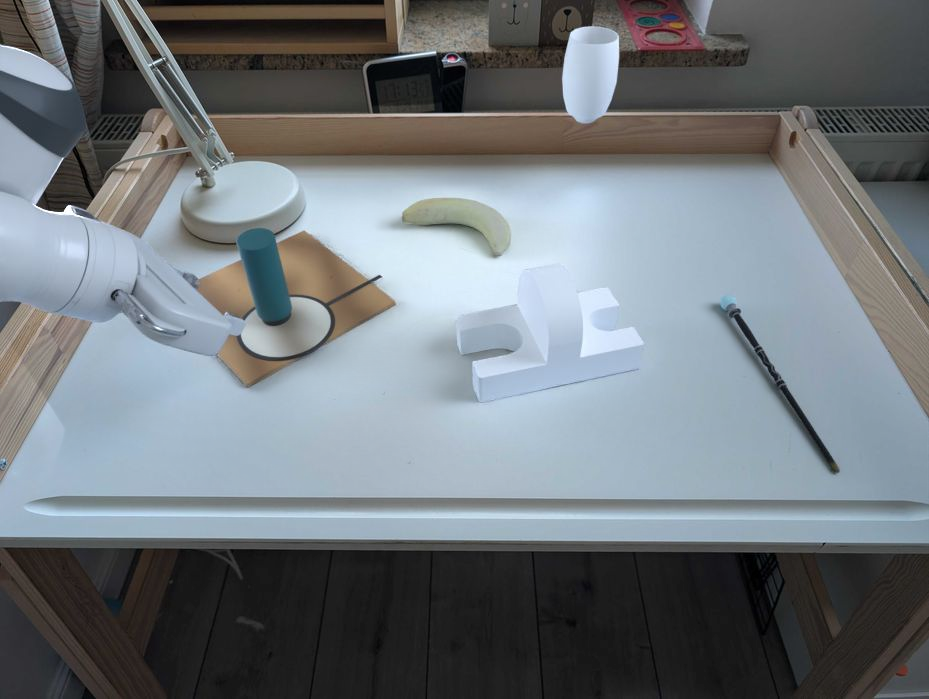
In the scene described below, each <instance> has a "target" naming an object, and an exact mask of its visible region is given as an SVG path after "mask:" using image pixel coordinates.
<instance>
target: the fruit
mask: <svg viewBox="0 0 929 699" xmlns="http://www.w3.org/2000/svg"><path fill="white" fill-rule="evenodd" d="M401 219H402V223H405V224H410V225H415V226H428V225H440V224H456V225H463V226H467V227H471V228H473V229H476V230H477V231H479V232H480V233H482V235H484V236H485V238H486V239H487V242H488V243H489V245H490V247H491V250H492V254H493V256H495V257H501V256H502V255H503V253H505V251H506V250H507V249H508V248H509V247H510V244H511V240H512V229H511V226H510V224H509V222H508V221H507V219H506V218H505V217H504V216H503V215H502V214H501V213H500V212H499V211H498V210H496V209H495V208H493V207H492V206H490V205H488V204H486V203H483V202H480V201H478V200H473V199H468V198H461V197H432V198H426V199H421V200H419V201H416V202H414V203H413V204H411V205H409V206H408V207H407V208H405V210H403V211H402V213H401Z"/></svg>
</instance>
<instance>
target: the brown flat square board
mask: <svg viewBox="0 0 929 699" xmlns="http://www.w3.org/2000/svg"><path fill="white" fill-rule="evenodd" d="M276 243H277V247H278V251H279V255H280V259H281V263H282V267H283V272H284V276H285V280H286V284H287V288H288V292H289V296H290V300H291V304H292V310H291V317H290V319H289V320H288V321H287V322H286V323H284V324H282V325H278V326H269V325H266V324H265V323H263V321H262V319H261V318H259V316H258V315H257V311H256V308H255V305H254V301H253V298H252V294H251V291H250V287H249V284H248V281H247V277H246V274H245V270H244V267H243V264H242V260H241V259H239V260H237V261H235V262H233V263H231V264H229V265H226V266H224V267H222V268H219V269H218V270H216V271H214V272H212V273H209V274H207V275H205V276H203V277H200V278H198V279H199V280H200V282H201V283H200V286H198V289H197V291H198V292H199V293H200V294H201V295H202V296H203V297H204V298H205V299H206V300H207V301H208V302H209V303H210V304H212V305H213V306H214V307H215V308H216V309H217V310H218V311H219V312H220V313H221V314H222V315H225V314H226V312H229V313H232V314H237V315H238V316H239V317H241V318H242V319H243V320H244V321H245V322H246V326H245V327H244V329H243V331H242V333H241V334H240V335H239V336H234V335H229V336H228V338H227V340H226V342H225V344H224V345H223V347H222V349H221V351H220V352H219V353H218V354H216V356H217V357H218V358H219V359H220V360H221V362H222V363H224V364H225V366H227V368H228V369H229V370H230V371H231V372H232V373H233V375H235V377H236V378H237V379H238V380H239V381H240V382H241V383H242V384H243V385H244V386H245V387H246V388H247V389H249V388H251V387H252V386H254V385H255V384H257V383H259V382H261V381H263V380H264V379H267V378H268V377H270V376H272V375H274V374H275V373H277V372H278V371H280V370H282V369H284V368H286V367H288V366H289V365H291V364H293V363H295V362H297V361H298V360H300V359H302V358H304V357H305V356H307V355H309V354H311V353H313V352H315V351H316V350H318V349H319V348H322V347H323V346H325V345H327V344H328V343H330V342H332V341H334V340H336V339H337V338H339V337H341V336H343V335H344V334H346V333H348V332H350V331H352V330H353V329H356V327H359V326H361V325H363V324H364V323H366V322H367V321H369V320H372V319H374V318H375V317H376V316H378V315H380V314H382V313H384V312H386V311H388V310H389V309H392V308H393V307H394V306H396V300H395V299H393V298H392V297H391V296H389V295H388V294H386V292H384V291H383V290H382V289H381V288H379V287H378V286H376V284H374V282H376V281H377V280H380V279H381V278H383V275H380V274H378V275H376V276H374V277H372V278H371V279H367V278H366V277H365V276H364V275H363V274H361V273H359V272H358V271H357V270H356V269H355V268H353V267H352V266H351V265H349V263H347V262H346V261H345V260H343V259H342V258H341V257H340V256H338V255H337V254H336V253H334V252H333V251H332V250H330V249H329V248H327V247H326V246H325V245H324V244H322V243H321V242H320V241H319V240H317V239H316V238H315V237H314V236H312V235H311V234H310V233H308V232H307V231H306V230H302V231H299V232H297V233H295V234H294V235H290V236H288V237H287V238H284V239H282V240H280V241H278V242H276Z"/></svg>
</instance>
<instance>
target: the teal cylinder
mask: <svg viewBox="0 0 929 699" xmlns="http://www.w3.org/2000/svg"><path fill="white" fill-rule="evenodd" d="M275 236H276V235H275V233H274V232H273V231H272V230H271V229H268V228H264V227H257V228H256V227H255V228H251V229H248V230H246V231H243V232H242V233H240V234H239V235H238V236H237V239H236V241H235V242H236V243H235V244H236V247H237V250H238V254H239V256H240V260H242V264H243V267H244V270H245V274H246V277H247V281H248V284H249V287H250V291H251V294H252V298H253V301H254V305H255V308H256V311H257V315H258V316H259V318H261V319H262V321H263V323H265V324H266V325H269V326H278V325H282V324H284V323H286V322H287V321H288V320H289V319H290V317H291V310H292V304H291V300H290V296H289V292H288V288H287V284H286V280H285V276H284V272H283V267H282V263H281V259H280V255H279V251H278V247H277V243H278V242H277V239H276V237H275Z"/></svg>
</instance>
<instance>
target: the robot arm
mask: <svg viewBox="0 0 929 699" xmlns="http://www.w3.org/2000/svg"><path fill="white" fill-rule="evenodd" d="M82 102H83V101H82V100H81V96H80V94H79V91H78V88H77V87H76V85H75V82H74V81H73V80H72V79H71V78H70V77H69V76H68V75H67V74H66V73H64V72H63V71H62V70H60V69H59V68H58V67H56V66H55V65H53V64H51V63H50V62H48V61H47V60H45V59H43V58H41V57H40V56H38V55H35V54H34V53H32V52H29V51H25V50H23V49H20V48H18V47H15V46H12V45H8V44H4V43H0V303H1V302H18V303H21V304H25V305H27V306H30V307H31V308H33V309H36V310H38V311H40V312H43V313H49V314H53V315H57V316H63V317H68V318H73V319H77V320H81V321H88V322H92V323H99V324H102V323H106V322H109V321H111V320H112V319H114V318H115V317H117V316H118V315H119V314H123V315H124V316H125V317H126V318H127V320H128V321H129V322H131V324H132V325H133V326H134V327H135V328H136V330H138V331H139V332H140V333H141V334H142V335H143V336H145V337H147V339H149V340H151V341H153V342H155V343H158V344H161V345H163V346H166V347H169V348H174V349H177V350H180V351H185V352H187V353H188V352H189V353H191V354H192V353H193V354H195V355H196V354H197V355H201V356H205V357H214V356H215V355H216V356H217V354H218V353H219V352H220V351H221V349H222V347H223V345H224V344H225V342H226V340H227V338H228V336H229V335H234V336H239V335H240V334H241V333H242V331H243V329H244V327H245V326H246V322H245V321H244V320H243V319H242V318H241V317H239V316H238V315H237V314H232V313H229V312H226V314H225V315H222V314H221V313H220V312H219V311H218V310H217V309H216V308H215V307H214V306H213V305H212V304H210V303H209V302H208V301H207V300H206V299H205V298H204V297H203V296H202V295H201V294H200V293H199V292H198V291H197V289H198V286H200V283H201V282H200V280H199V279H200V278H198V277H197V276H196V275H195V274H194V273H193V272H189V271H186V270H182V269H181V268H179V267H178V266H175V265H173V264H172V263H170V262H168V261H166V260H165V259H164V258H163V257H162V256H161V255H159V253H158V252H156V251H155V249H153V248H152V247H151V246H150V245H149V244H148V243H147V242H146V241H145V240H143V239H142V238H140V237H139V236H137V235H135V234H134V233H131V232H129V231H127V230H124V229H122V228H119V227H117V226H115V225H112V224H110V223H107V222H105V221H102V220H100V219H98V218H96V216H94V214H92V213H90V212H89V211H88V210H85V209H84V208H81V207H78V206H74V205H67V206H66V208H65V209H64V211H61V212H58V211H50V210H46V209H43V208H41V207H38V206H37V204H38V202H39V200H40V199H41V197H42V195H43V194H44V192H45V190H46V188H47V187H48V185H49V184H50V183H51V180H52V178H53V177H54V175H55V174H56V172H57V170H58V169H59V167H60V165H61V163H62V162H63V160H64V159H65V158H67V157H68V156H69V154H70V153H71V152H72V151H73V149H74V148H75V146H76V145H77V143H78V142H79V141H80V140H81V138H82V137H83V136H84V134H85V133H86V132H87V129H88V127H87V120H86V115H85V110H84V106H83V103H82Z"/></svg>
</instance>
